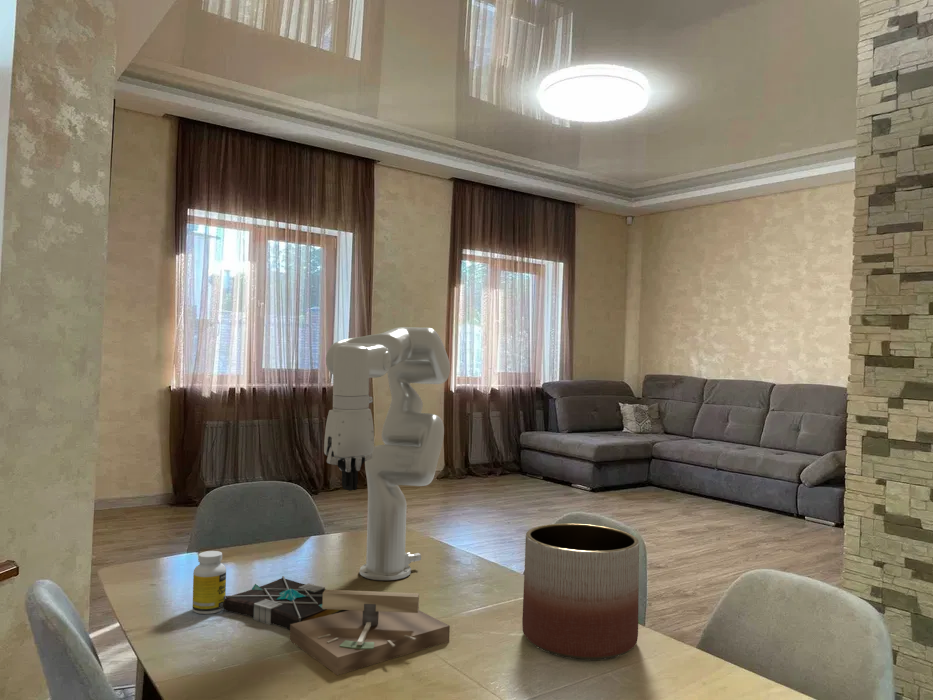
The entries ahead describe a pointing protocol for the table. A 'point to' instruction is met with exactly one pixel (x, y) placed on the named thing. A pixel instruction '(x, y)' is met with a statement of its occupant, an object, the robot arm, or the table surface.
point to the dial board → (366, 638)
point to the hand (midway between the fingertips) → (349, 489)
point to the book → (280, 603)
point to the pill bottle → (209, 583)
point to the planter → (581, 590)
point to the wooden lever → (370, 604)
